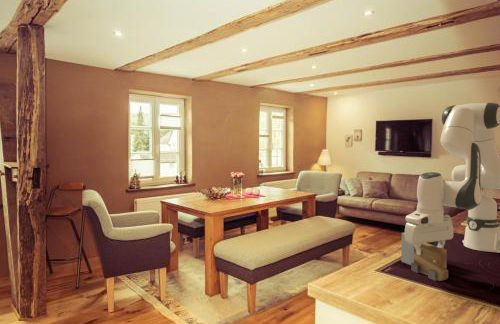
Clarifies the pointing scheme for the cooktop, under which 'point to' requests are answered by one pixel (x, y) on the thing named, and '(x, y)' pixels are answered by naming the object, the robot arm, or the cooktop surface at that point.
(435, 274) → the hinge clips
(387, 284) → the cooktop surface
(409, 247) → the cabinet
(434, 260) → the door
